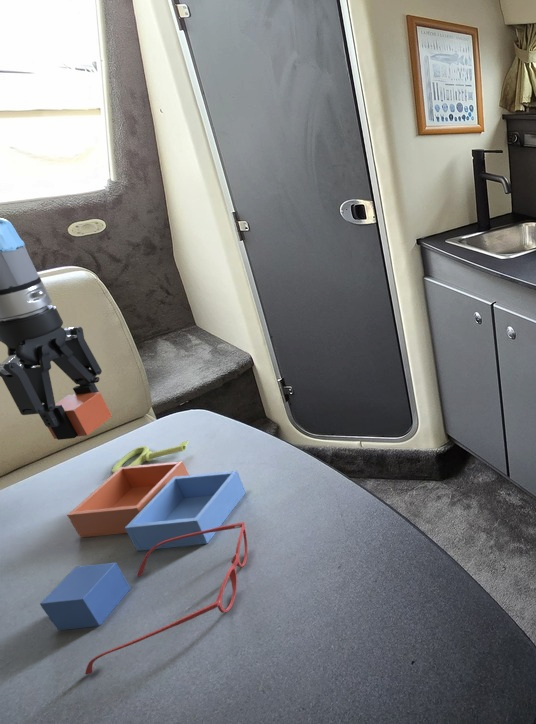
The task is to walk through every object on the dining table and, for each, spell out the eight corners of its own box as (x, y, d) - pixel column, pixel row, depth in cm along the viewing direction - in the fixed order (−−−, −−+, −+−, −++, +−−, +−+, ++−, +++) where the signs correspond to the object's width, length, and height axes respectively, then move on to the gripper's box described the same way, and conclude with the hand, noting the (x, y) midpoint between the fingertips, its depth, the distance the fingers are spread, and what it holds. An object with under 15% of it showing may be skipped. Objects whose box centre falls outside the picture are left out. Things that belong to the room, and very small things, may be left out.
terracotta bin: (80, 537, 83) (66, 515, 81) (131, 487, 93) (120, 466, 91) (148, 530, 83) (136, 508, 81) (192, 482, 93) (182, 461, 92)
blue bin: (137, 551, 80) (124, 527, 78) (183, 498, 90) (173, 476, 88) (207, 543, 80) (196, 520, 79) (246, 492, 91) (237, 470, 89)
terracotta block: (54, 439, 87) (39, 413, 85) (81, 419, 92) (67, 394, 90) (87, 435, 88) (73, 410, 86) (112, 416, 93) (100, 391, 91)
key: (189, 454, 101) (185, 445, 100) (110, 480, 95) (105, 471, 94) (194, 434, 106) (190, 426, 106) (120, 458, 101) (115, 449, 100)
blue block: (57, 630, 68) (39, 603, 66) (92, 592, 73) (76, 566, 71) (99, 626, 69) (82, 599, 67) (131, 588, 74) (116, 562, 72)
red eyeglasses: (230, 633, 67) (218, 608, 65) (80, 686, 62) (62, 661, 60) (260, 533, 82) (251, 510, 80) (141, 568, 77) (128, 545, 75)
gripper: (-13, 337, 73) (59, 460, 82) (93, 288, 90) (143, 394, 99) (-68, 341, 72) (10, 465, 81) (49, 291, 89) (103, 398, 98)
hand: (83, 426), depth 90 cm, fingers closed on terracotta block, 5 cm apart
